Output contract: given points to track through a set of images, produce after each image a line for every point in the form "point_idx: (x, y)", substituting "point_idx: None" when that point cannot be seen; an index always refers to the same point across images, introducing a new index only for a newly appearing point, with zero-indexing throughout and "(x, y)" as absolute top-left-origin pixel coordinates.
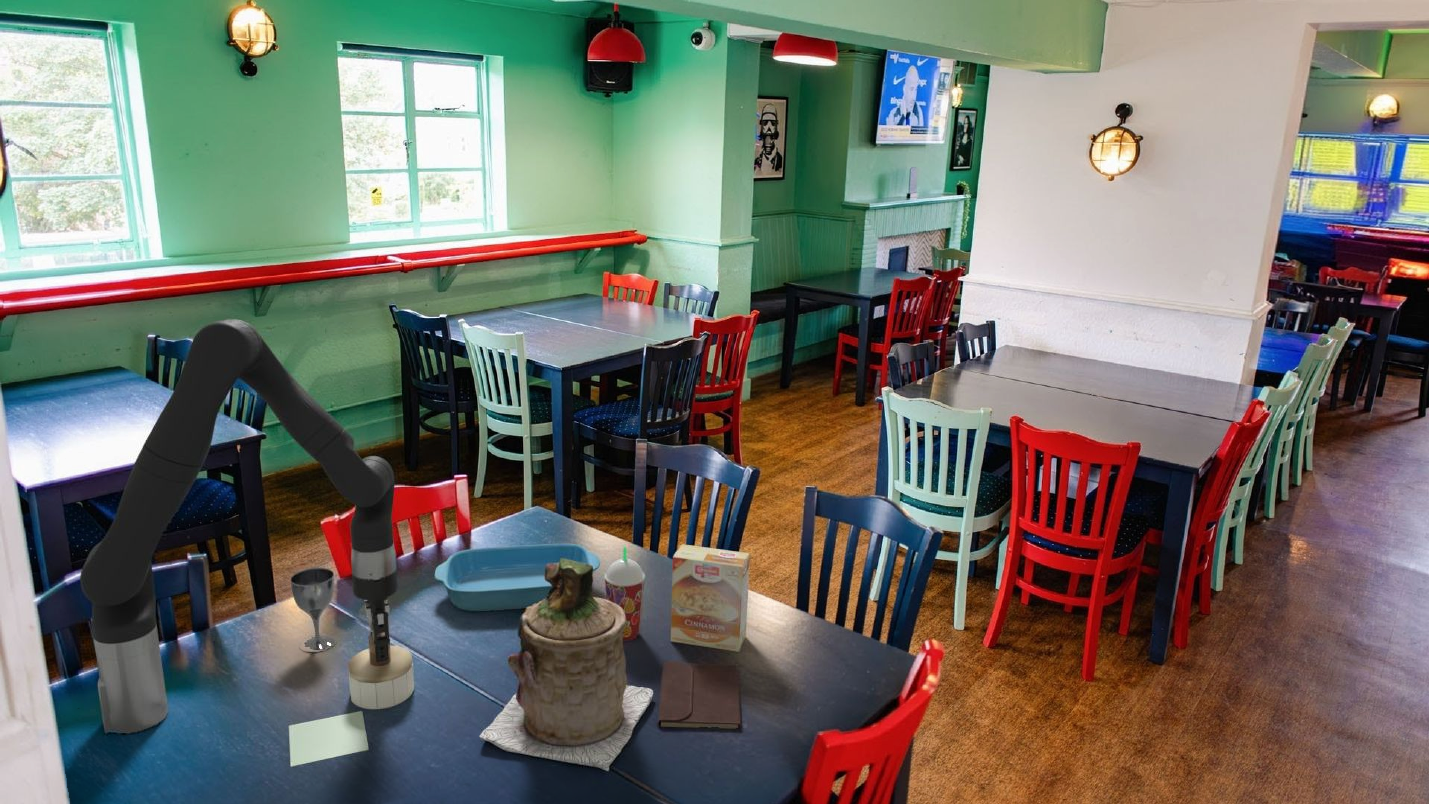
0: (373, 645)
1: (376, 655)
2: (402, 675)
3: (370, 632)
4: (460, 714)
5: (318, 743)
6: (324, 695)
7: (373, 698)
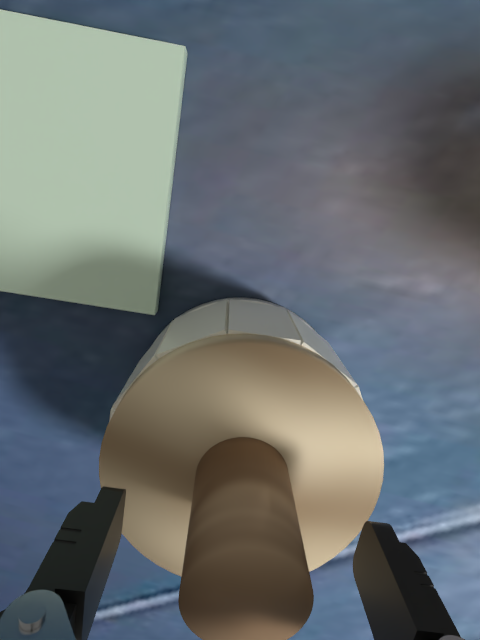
0: (201, 536)
1: (90, 518)
2: None
3: (399, 547)
4: (30, 540)
5: (11, 127)
6: (349, 227)
7: (136, 368)
